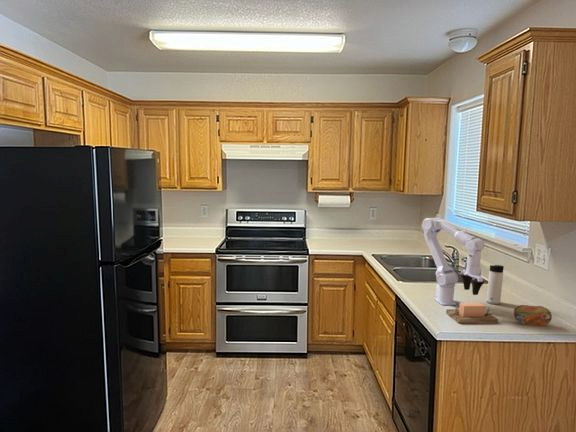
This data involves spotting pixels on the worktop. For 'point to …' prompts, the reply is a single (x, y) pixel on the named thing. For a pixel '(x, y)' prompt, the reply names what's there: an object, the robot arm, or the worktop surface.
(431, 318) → the worktop surface
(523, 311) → the tin
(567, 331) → the worktop surface
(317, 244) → the worktop surface
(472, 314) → the bar
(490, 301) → the travel mug
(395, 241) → the worktop surface
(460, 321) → the board
